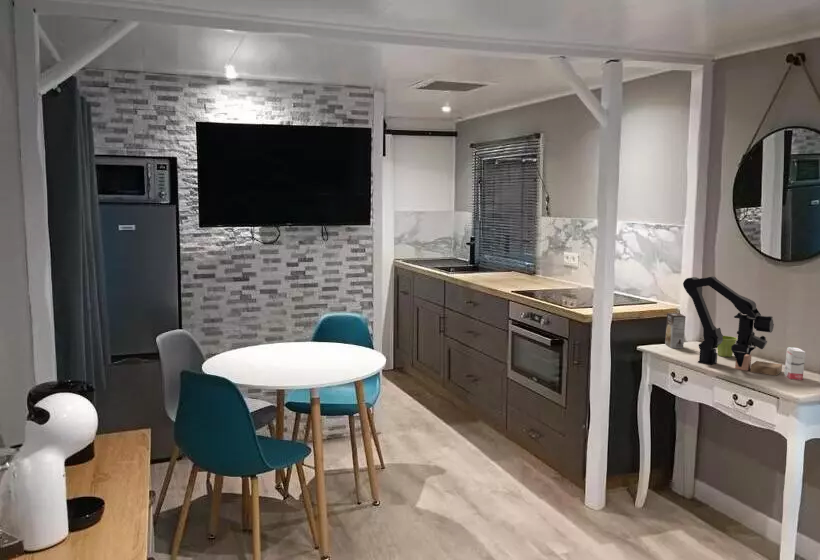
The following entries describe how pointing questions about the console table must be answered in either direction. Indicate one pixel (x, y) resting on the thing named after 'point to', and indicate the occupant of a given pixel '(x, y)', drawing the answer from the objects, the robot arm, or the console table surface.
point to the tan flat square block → (766, 368)
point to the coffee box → (675, 330)
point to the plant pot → (726, 346)
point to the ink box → (794, 363)
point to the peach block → (745, 363)
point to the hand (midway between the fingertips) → (742, 364)
